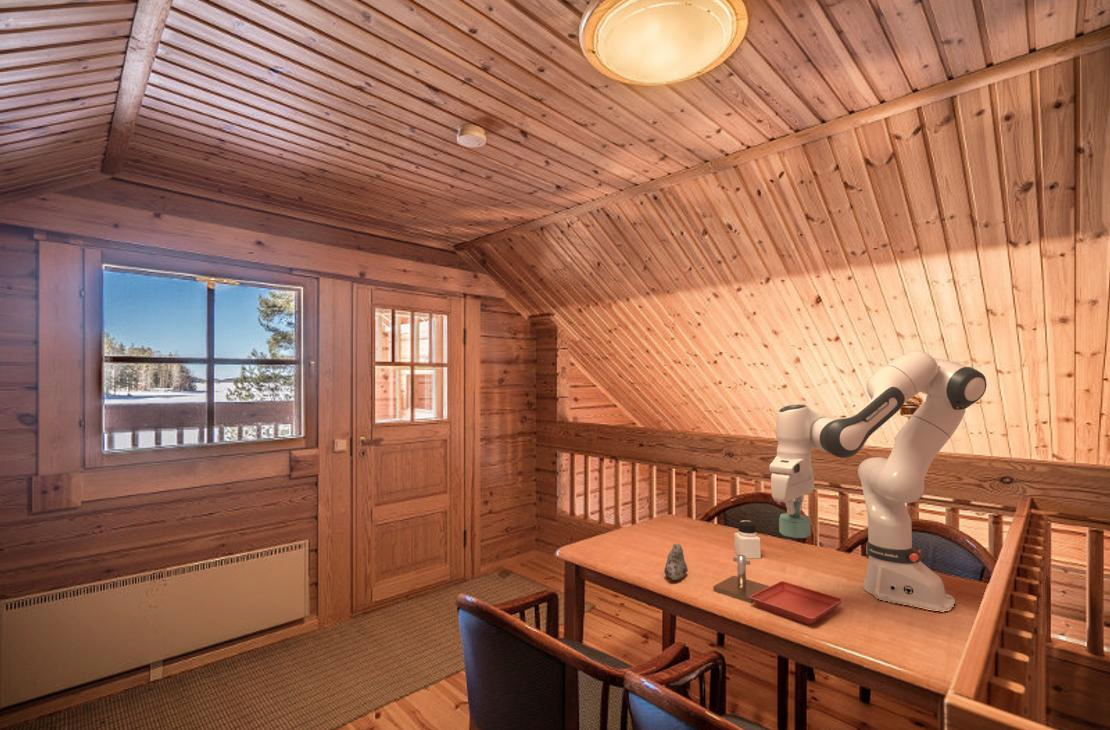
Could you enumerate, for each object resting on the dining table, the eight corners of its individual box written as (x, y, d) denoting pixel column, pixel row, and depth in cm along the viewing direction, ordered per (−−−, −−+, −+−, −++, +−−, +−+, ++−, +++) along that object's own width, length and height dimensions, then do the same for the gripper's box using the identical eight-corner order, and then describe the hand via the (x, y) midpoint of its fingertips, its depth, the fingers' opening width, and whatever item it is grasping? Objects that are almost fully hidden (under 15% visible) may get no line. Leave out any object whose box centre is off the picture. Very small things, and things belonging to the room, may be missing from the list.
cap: (787, 528, 155) (786, 497, 155) (813, 533, 150) (813, 502, 150) (775, 533, 150) (775, 502, 150) (802, 539, 145) (802, 506, 145)
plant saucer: (748, 607, 151) (748, 595, 151) (781, 590, 162) (781, 579, 162) (812, 631, 137) (812, 618, 137) (844, 611, 148) (843, 599, 148)
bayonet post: (770, 591, 161) (770, 556, 161) (751, 603, 153) (750, 566, 153) (733, 580, 170) (733, 546, 170) (713, 591, 162) (713, 556, 162)
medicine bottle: (761, 558, 189) (760, 524, 189) (740, 558, 189) (740, 524, 190) (754, 552, 196) (753, 519, 196) (734, 552, 196) (734, 519, 197)
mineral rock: (673, 585, 166) (672, 553, 166) (647, 575, 175) (646, 544, 175) (699, 575, 174) (698, 544, 174) (673, 566, 183) (672, 536, 183)
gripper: (797, 457, 160) (798, 504, 160) (766, 466, 146) (767, 517, 146) (819, 459, 155) (820, 507, 155) (789, 469, 141) (790, 521, 141)
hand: (794, 512), depth 150 cm, fingers closed on cap, 3 cm apart
